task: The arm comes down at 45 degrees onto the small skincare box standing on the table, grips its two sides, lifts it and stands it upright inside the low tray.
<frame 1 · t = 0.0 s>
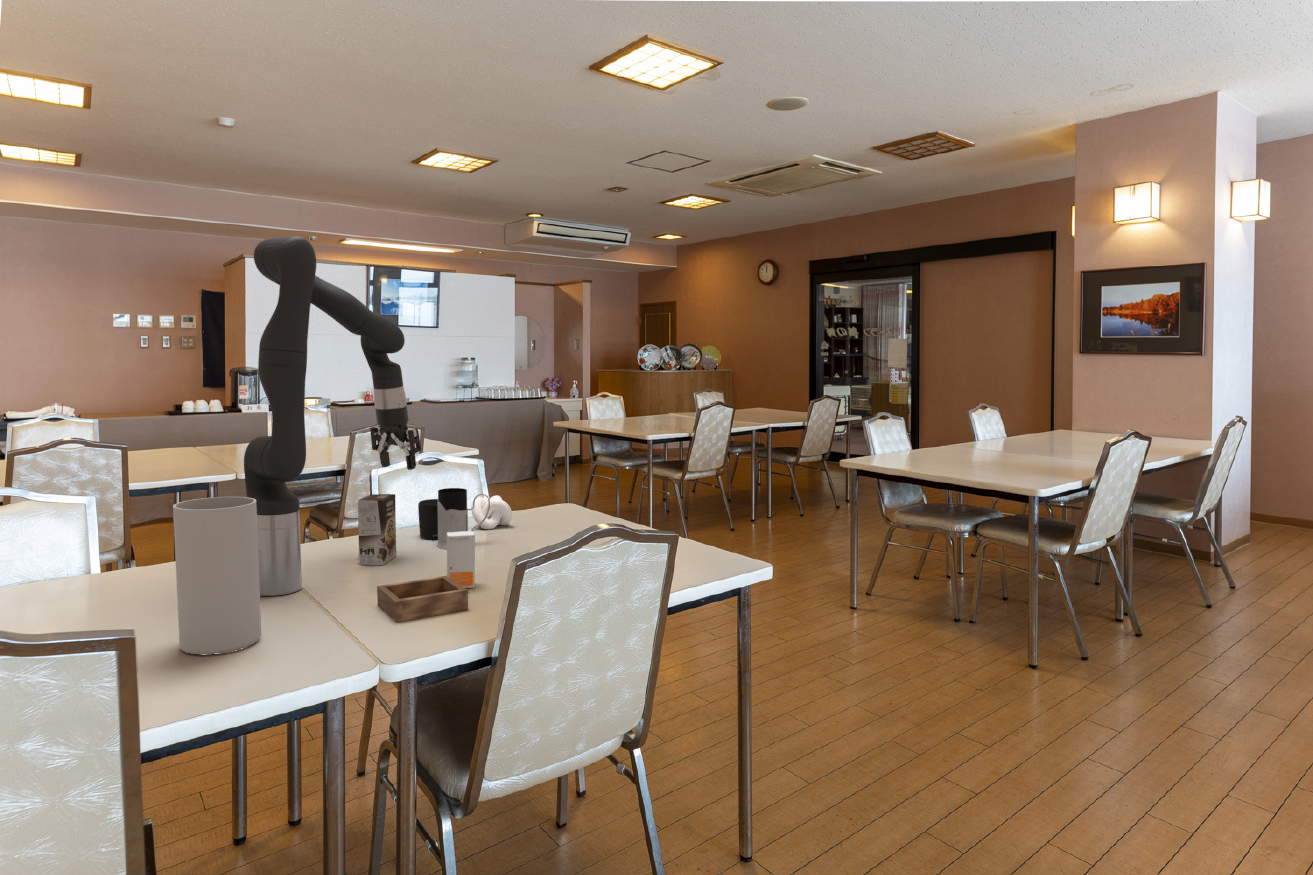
hand: (398, 467, 200), 22 cm above the table, tool pointing down, fingers open, 8 cm apart
black smart speaker: (436, 537, 222), on the table
tray: (422, 607, 159), on the table
white knot sculpture: (493, 527, 236), on the table
coffee box: (378, 561, 195), on the table
cylinder vase: (221, 644, 138), on the table
glass holder: (463, 545, 213), on the table
skincare box: (461, 587, 174), on the table
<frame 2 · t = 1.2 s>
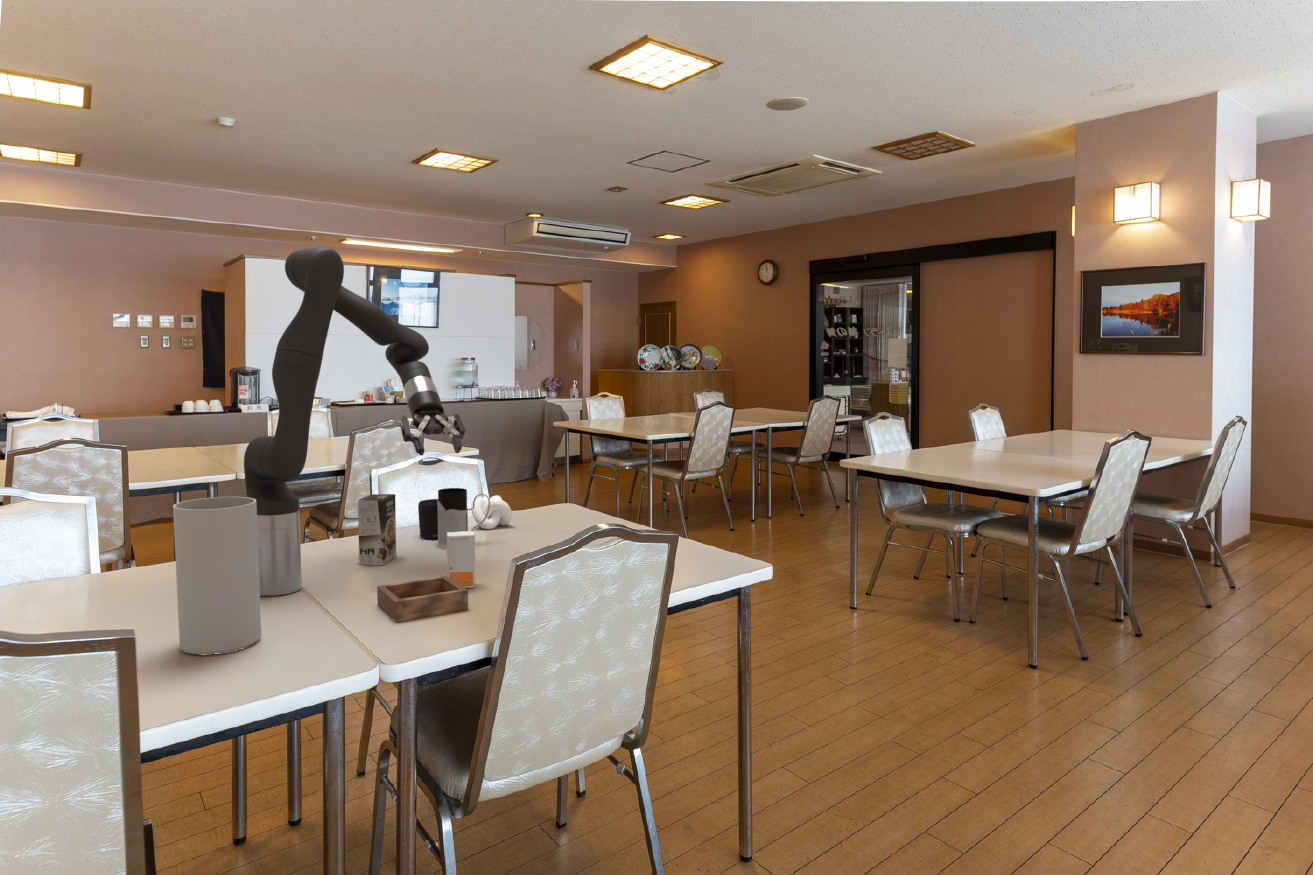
hand: (440, 452, 181), 29 cm above the table, tool tilted 45°, fingers open, 8 cm apart
nothing on the table moved.
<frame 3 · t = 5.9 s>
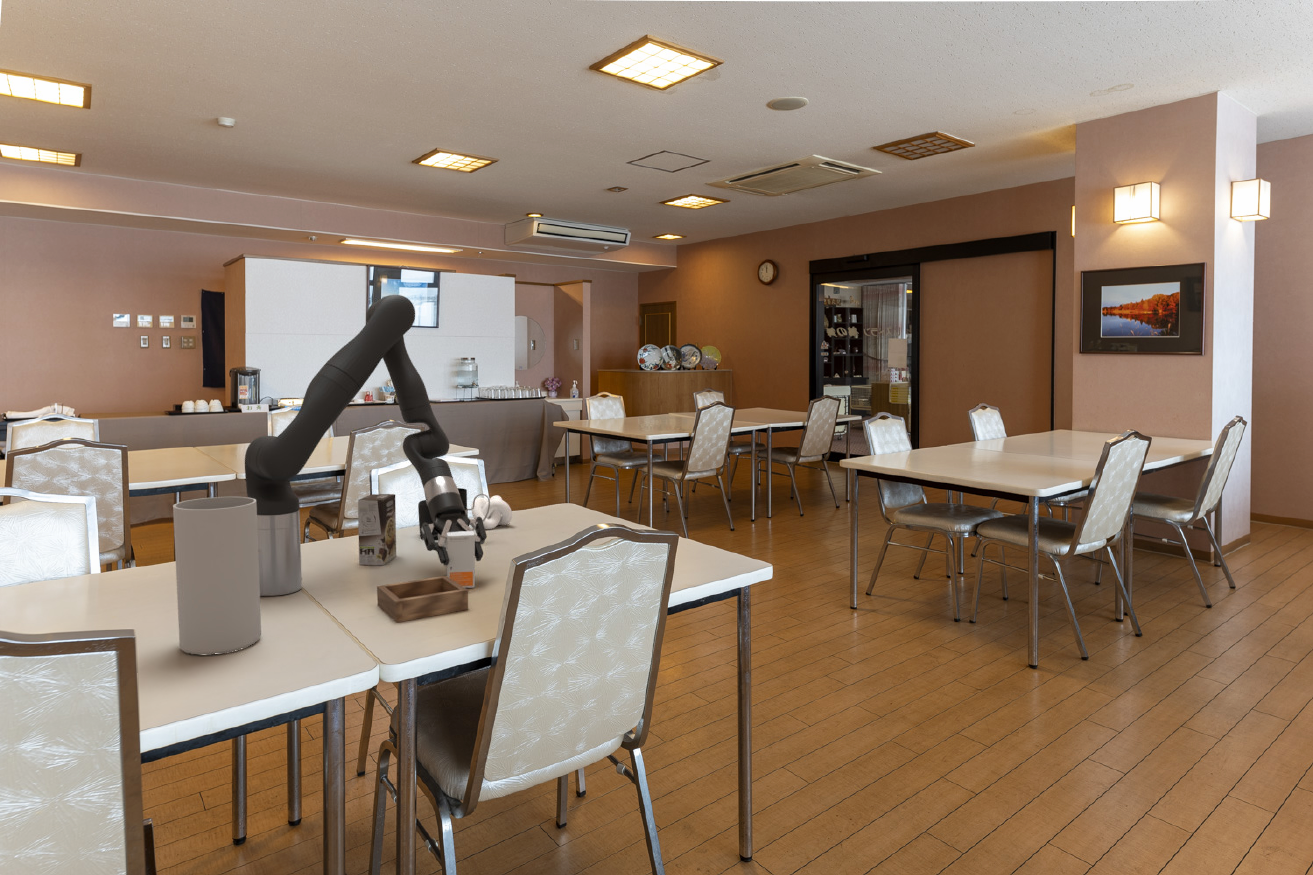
hand: (463, 561, 173), 6 cm above the table, tool tilted 45°, fingers closed on skincare box, 7 cm apart
skincare box: (461, 587, 174), on the table, touching gripper
everything else where it was.
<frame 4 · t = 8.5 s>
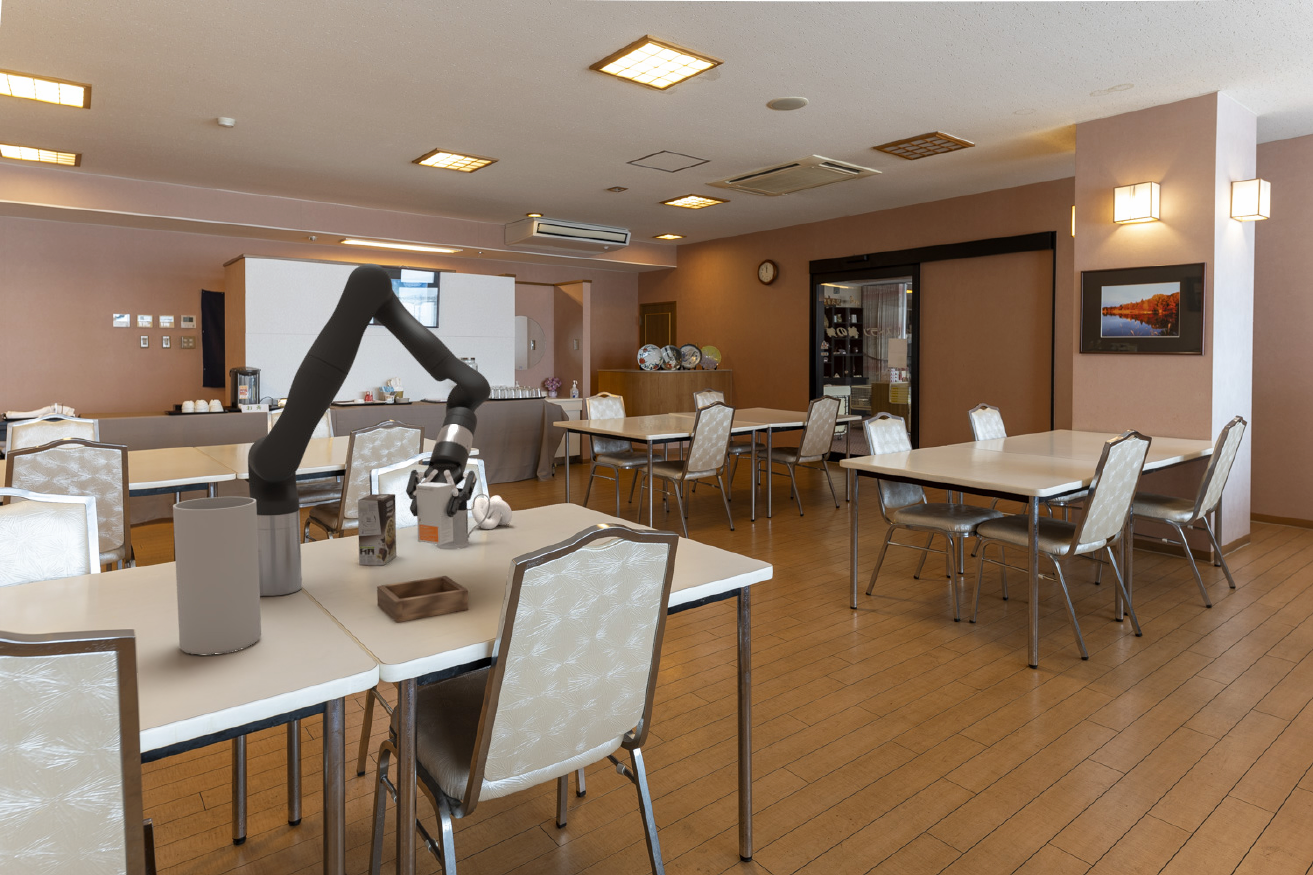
hand: (432, 514, 160), 19 cm above the table, tool tilted 45°, fingers closed on skincare box, 7 cm apart
skincare box: (436, 542, 162), point 13 cm above the table, touching gripper
everything else where it was.
when the fingers open (8 cm above the table, at t = 11.3 s): skincare box drops 1 cm, resting on tray.
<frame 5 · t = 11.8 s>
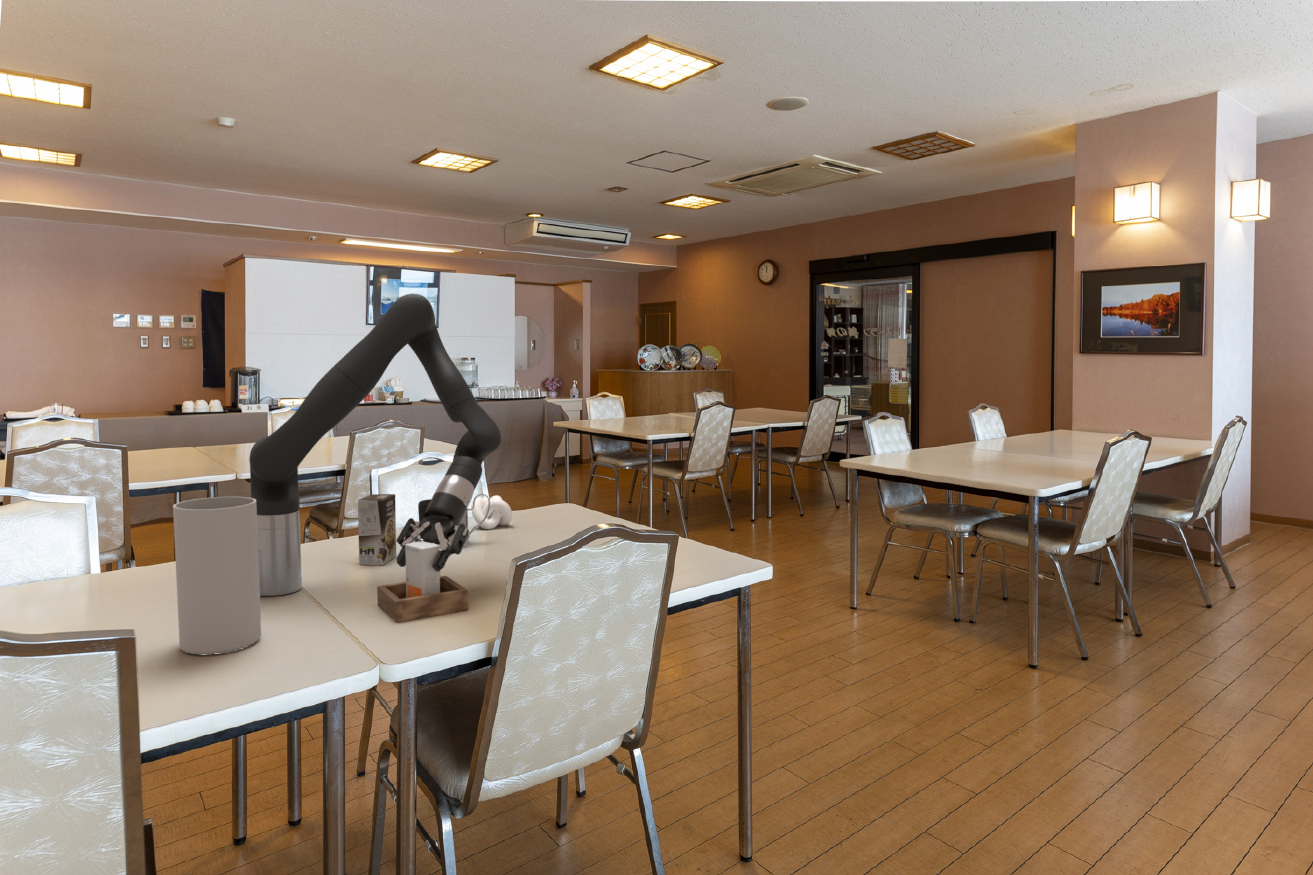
hand: (417, 567, 157), 9 cm above the table, tool tilted 45°, fingers open, 8 cm apart
skincare box: (423, 603, 159), point 1 cm above the table, touching tray
everything else where it was.
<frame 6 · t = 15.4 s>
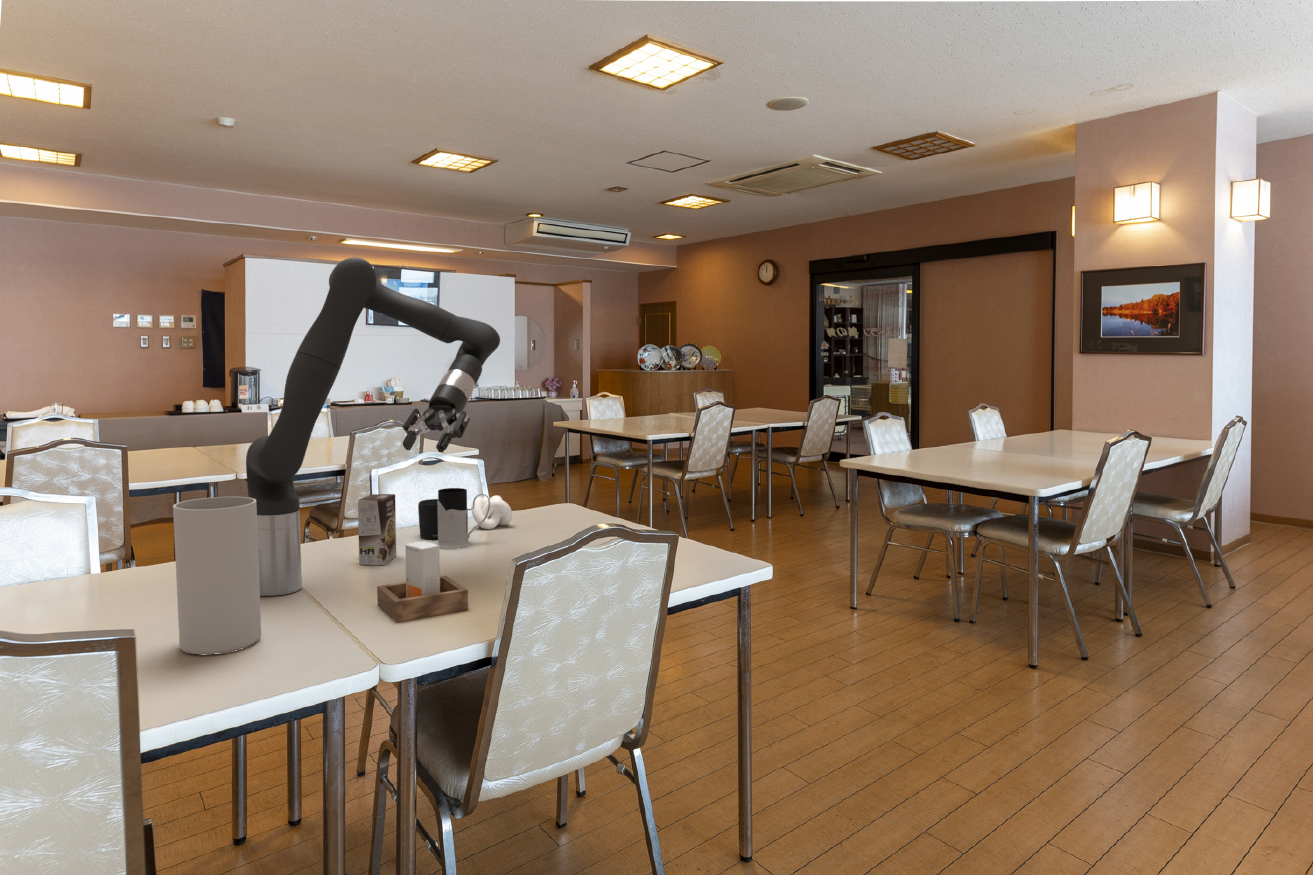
hand: (422, 449, 170), 31 cm above the table, tool tilted 45°, fingers open, 8 cm apart
nothing on the table moved.
at the end: skincare box inside the target area on the tray (0.1 cm from its centre), point 0.8 cm above the tray's base; skincare box tilted 0°; the gripper is holding nothing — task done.
